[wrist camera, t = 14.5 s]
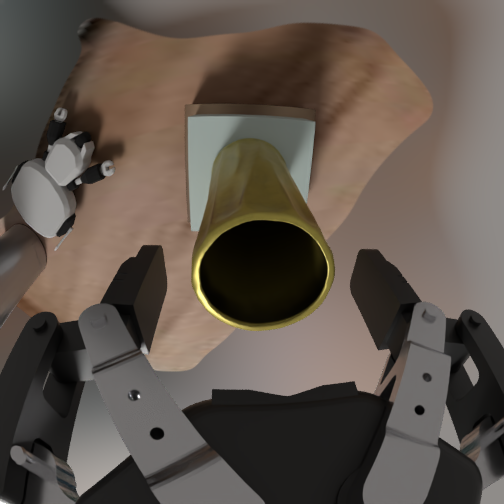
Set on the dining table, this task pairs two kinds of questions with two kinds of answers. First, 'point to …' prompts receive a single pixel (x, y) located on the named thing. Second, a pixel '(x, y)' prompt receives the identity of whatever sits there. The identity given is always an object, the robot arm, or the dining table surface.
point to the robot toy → (56, 180)
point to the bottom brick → (238, 109)
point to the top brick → (240, 127)
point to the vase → (258, 243)
